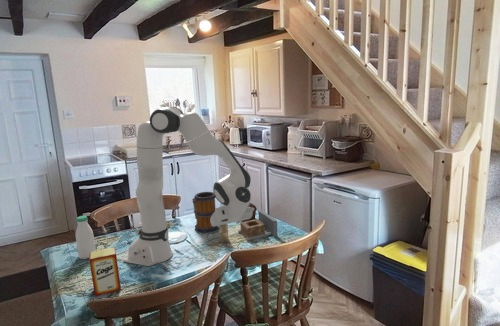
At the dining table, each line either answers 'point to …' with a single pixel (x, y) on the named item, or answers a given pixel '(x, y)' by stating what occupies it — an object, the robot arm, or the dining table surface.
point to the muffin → (252, 212)
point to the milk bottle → (84, 238)
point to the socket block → (252, 228)
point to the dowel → (224, 233)
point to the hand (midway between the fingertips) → (228, 223)
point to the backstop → (269, 226)
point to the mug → (204, 212)
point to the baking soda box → (104, 271)
